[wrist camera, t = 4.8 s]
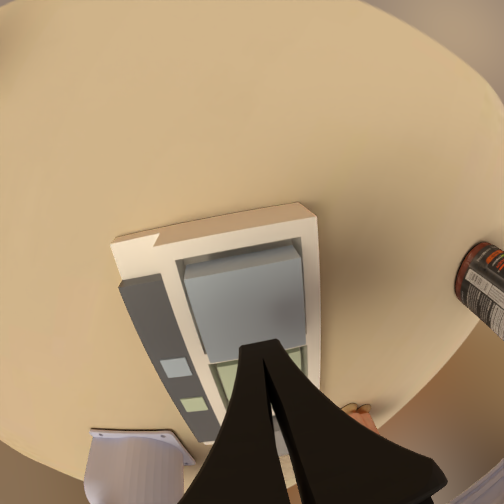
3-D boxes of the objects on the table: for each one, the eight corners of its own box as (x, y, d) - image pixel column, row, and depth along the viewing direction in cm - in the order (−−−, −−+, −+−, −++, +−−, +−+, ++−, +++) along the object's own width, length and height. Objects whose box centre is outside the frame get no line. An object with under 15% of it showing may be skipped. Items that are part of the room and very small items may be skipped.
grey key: (247, 448, 19) (249, 461, 18) (237, 422, 17) (239, 438, 16) (302, 437, 20) (306, 449, 18) (302, 409, 18) (307, 424, 16)
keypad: (204, 436, 22) (205, 460, 19) (115, 237, 14) (97, 258, 11) (308, 418, 23) (316, 440, 20) (298, 202, 15) (317, 216, 12)
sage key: (231, 397, 18) (233, 412, 17) (215, 351, 16) (216, 367, 15) (297, 383, 18) (302, 398, 17) (294, 335, 16) (300, 350, 15)
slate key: (209, 345, 14) (210, 363, 13) (186, 264, 12) (183, 279, 11) (298, 327, 14) (306, 344, 13) (291, 244, 13) (300, 257, 11)
